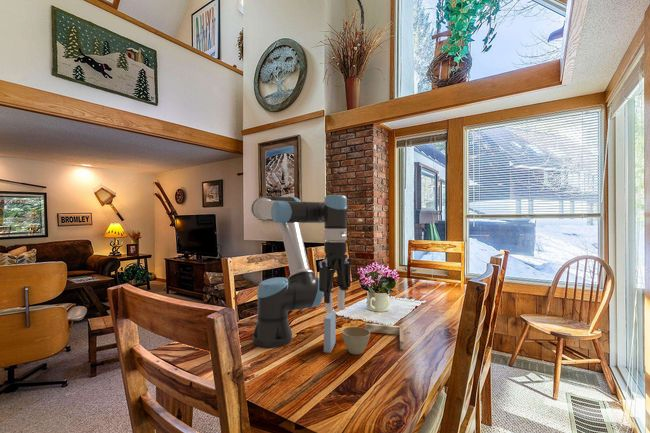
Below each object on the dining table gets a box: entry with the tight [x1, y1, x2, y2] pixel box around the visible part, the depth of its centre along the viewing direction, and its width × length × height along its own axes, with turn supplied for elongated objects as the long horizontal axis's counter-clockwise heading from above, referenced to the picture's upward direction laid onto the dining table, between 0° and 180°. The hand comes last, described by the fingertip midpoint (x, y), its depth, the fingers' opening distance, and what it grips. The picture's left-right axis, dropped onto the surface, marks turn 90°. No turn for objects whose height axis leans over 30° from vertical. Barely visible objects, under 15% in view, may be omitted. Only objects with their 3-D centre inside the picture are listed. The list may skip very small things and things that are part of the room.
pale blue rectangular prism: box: [323, 310, 337, 354], centre depth 109 cm, size 2×9×12 cm, turn 166°
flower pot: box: [341, 326, 371, 355], centre depth 106 cm, size 10×10×7 cm
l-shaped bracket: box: [364, 322, 405, 351], centre depth 117 cm, size 16×16×3 cm
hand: (335, 310), depth 99 cm, fingers open, 5 cm apart
